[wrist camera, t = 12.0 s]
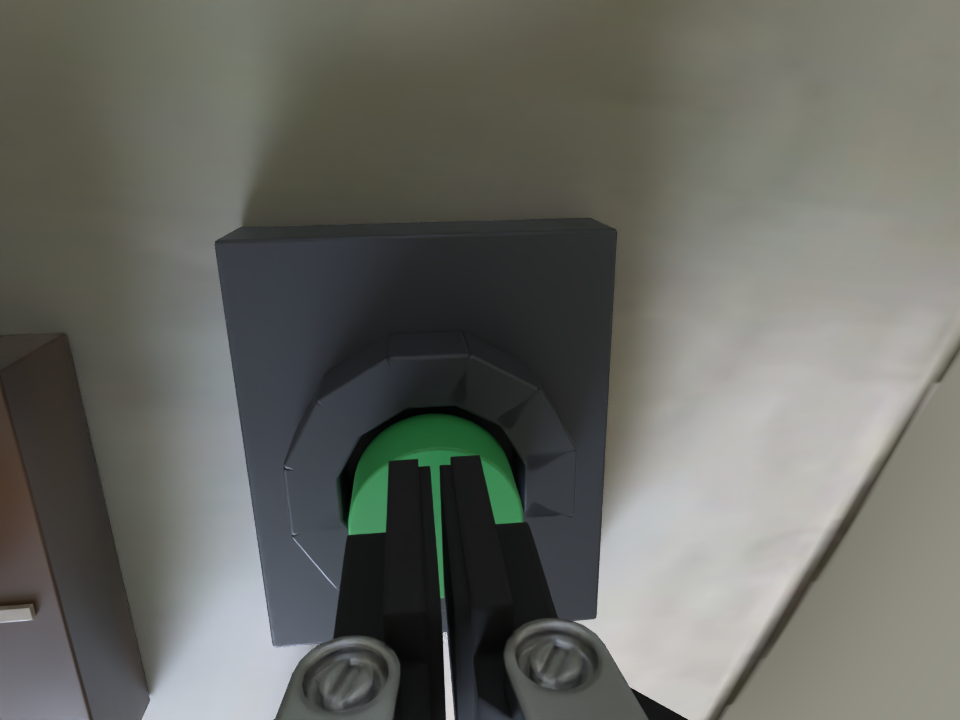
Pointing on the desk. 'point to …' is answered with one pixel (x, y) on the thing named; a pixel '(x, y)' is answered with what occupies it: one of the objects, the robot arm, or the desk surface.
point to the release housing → (417, 381)
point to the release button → (432, 447)
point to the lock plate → (57, 552)
